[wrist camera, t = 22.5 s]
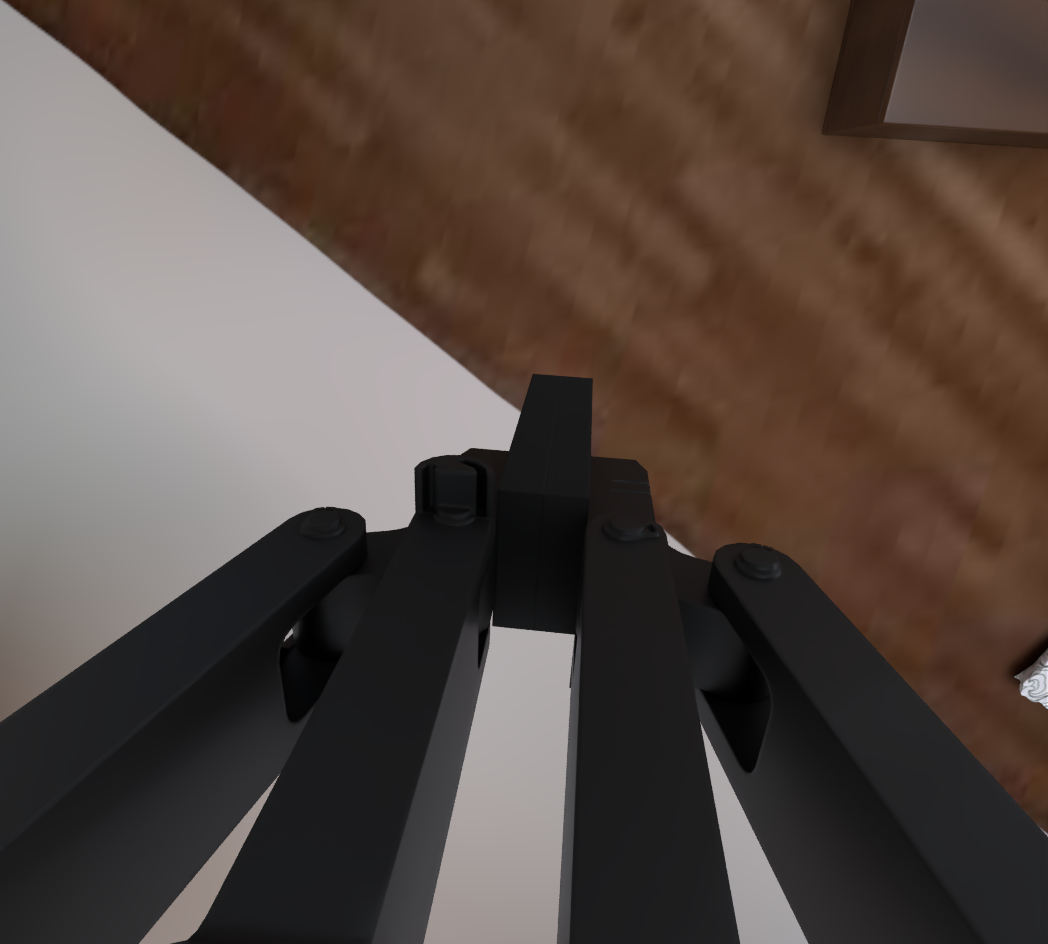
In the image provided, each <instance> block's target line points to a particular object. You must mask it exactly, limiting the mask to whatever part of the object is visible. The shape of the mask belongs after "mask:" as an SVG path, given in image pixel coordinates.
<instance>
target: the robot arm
mask: <svg viewBox="0 0 1048 944" xmlns="http://www.w3.org/2000/svg"><path fill="white" fill-rule="evenodd" d="M592 384H593V378H580V377H566V376H553V375H540V374H533V376H532V379H531V382H530V385H529V389H528V392H527V395H526V398H525V401H524V405H523V408H522V411H521V414H520V418H519V421H518V424H517V427H516V431H515V434H514V437H513V440H512V444H511V447H510V450H509V451H500V450H487V449H476V448H471V449H469V450H467V451H466V452H464V453H462V454H461V455H445V456H439V457H432V458H430V459H427V460H425V461H422V462H420V463H419V464H418V465H417V466H416V467H415V468H414V469H415V505H416V506H415V507H416V508H415V510H416V513H415V515H414V516H413V518H412V520H411V522H410V524H409V526H408V527H405V528H402V529H397V530H390V531H380V532H369V533H366V523H365V519H364V518H363V517H362V516H361V515H360V514H358V513H356V512H353V511H351V510H348V509H341V508H335V507H326V508H324V507H321V508H315V509H313V510H310V511H306V512H302V513H300V514H298V515H296V516H294V517H292V518H290V519H288V520H287V521H285V522H284V523H283V524H281V525H280V526H279V527H277V528H276V529H274V530H273V531H271V532H270V533H268V534H267V535H266V536H264V537H263V538H261V539H260V540H258V541H257V542H256V543H254V544H253V545H251V546H250V547H249V548H247V549H246V550H244V551H243V552H242V553H240V554H239V555H237V556H236V557H234V558H233V559H232V560H230V561H229V562H227V563H226V564H225V565H223V566H222V567H220V568H219V569H217V570H216V571H214V572H213V573H212V574H210V575H209V576H207V577H206V578H205V579H203V580H202V581H200V582H199V583H198V584H196V585H195V586H193V587H192V588H190V589H189V590H188V591H186V592H185V593H183V594H182V595H180V596H179V597H178V598H176V599H175V600H173V601H172V602H170V603H169V604H168V605H166V606H165V607H163V608H162V609H161V610H159V611H158V612H156V613H155V614H153V615H152V616H151V617H149V618H148V619H146V620H145V621H143V622H142V623H141V624H139V625H138V626H136V627H135V628H134V629H132V630H131V631H129V632H128V633H127V634H125V635H124V636H122V637H121V638H120V639H118V640H117V641H115V642H114V643H112V644H111V645H109V646H108V647H107V648H105V649H104V650H102V651H101V652H99V653H98V654H97V655H95V656H94V657H92V658H91V659H90V660H88V661H87V662H85V663H84V664H82V665H81V666H80V667H78V668H77V669H75V670H74V671H73V672H71V673H70V674H68V675H67V676H65V677H64V678H63V679H61V680H60V681H58V682H57V683H56V684H54V685H53V686H52V687H50V688H49V689H47V690H46V691H44V692H43V693H41V694H40V695H39V696H37V697H36V698H34V699H33V700H32V701H30V702H29V703H27V704H26V705H24V706H23V707H22V708H20V709H19V710H17V711H16V712H14V713H13V714H12V715H10V716H9V717H7V718H6V719H4V720H3V721H2V722H0V944H139V943H140V941H141V940H142V939H143V938H144V937H145V935H146V934H147V933H148V932H149V930H150V929H151V928H152V927H153V926H154V924H155V923H156V922H157V921H158V920H159V918H160V917H161V916H162V915H163V913H164V912H165V911H166V910H167V909H168V908H169V906H170V905H171V904H172V903H173V902H174V900H175V899H176V898H177V897H178V896H179V894H180V893H181V892H182V891H183V890H184V888H185V887H186V886H187V885H188V884H189V882H190V881H191V880H192V879H193V878H194V876H195V875H196V874H197V873H198V871H199V870H200V869H201V868H202V867H203V865H204V864H205V863H206V862H207V861H208V860H209V858H210V857H211V856H212V855H213V853H214V852H215V851H216V850H217V849H218V847H219V846H220V845H221V844H222V843H223V841H224V840H225V839H226V838H227V837H228V835H229V834H230V833H231V832H232V831H233V829H234V828H235V827H236V826H237V824H238V823H239V822H240V821H241V820H242V819H243V817H244V816H245V815H246V814H247V813H248V811H249V810H250V809H251V808H252V807H253V805H254V804H255V803H256V801H258V799H259V798H260V797H261V795H263V793H264V792H265V791H266V790H267V789H268V787H269V786H270V785H271V784H272V783H273V781H274V780H275V779H276V778H277V776H278V775H279V774H280V775H279V777H278V779H277V781H276V783H275V785H274V787H273V789H272V791H271V792H270V794H269V796H268V798H267V800H266V802H265V804H264V806H263V808H262V810H261V812H260V814H259V816H258V818H257V819H256V821H255V823H254V825H253V827H252V829H251V831H250V833H249V835H248V837H247V839H246V841H245V843H244V844H243V847H242V848H241V850H240V852H239V854H238V856H237V858H236V860H235V862H234V864H233V866H232V868H231V870H230V871H229V873H228V875H227V877H226V879H225V881H224V883H223V885H222V887H221V889H220V891H219V893H218V895H217V897H216V899H215V901H214V902H213V904H212V906H211V908H210V910H209V912H208V914H207V916H206V917H205V919H204V920H203V922H202V924H201V925H200V927H199V929H198V930H197V931H196V932H195V933H194V934H193V935H192V936H191V937H190V938H189V939H188V940H186V941H181V942H177V943H172V944H423V942H424V938H425V933H426V929H427V924H428V920H429V915H430V911H431V906H432V902H433V897H434V893H435V888H436V883H437V879H438V875H439V870H440V866H441V861H442V857H443V852H444V847H445V843H446V839H447V834H448V829H449V825H450V820H451V816H452V811H453V807H454V802H455V797H456V793H457V789H458V784H459V780H460V775H461V771H462V766H463V762H464V757H465V753H466V748H467V743H468V739H469V735H470V730H471V726H472V721H473V717H474V712H475V708H476V703H477V698H478V694H479V689H480V685H481V680H482V676H483V671H484V667H485V662H486V658H487V653H488V649H489V640H490V620H491V616H492V611H493V623H492V625H493V626H497V627H506V628H516V629H526V630H535V631H545V632H554V633H564V634H574V635H575V638H574V647H573V657H572V667H571V677H570V688H571V697H570V716H569V734H568V752H567V770H566V788H565V808H564V825H563V844H562V862H561V880H560V898H559V916H558V934H557V944H740V940H739V935H738V930H737V924H736V918H735V913H734V907H733V902H732V896H731V890H730V885H729V880H728V874H727V869H726V863H725V857H724V852H723V846H722V841H721V835H720V829H719V824H718V818H717V813H716V807H715V802H714V796H713V791H712V786H711V780H710V774H709V768H708V763H707V757H706V752H705V747H704V741H703V735H702V730H701V724H702V726H703V728H704V730H705V732H706V734H707V736H708V739H709V740H710V743H711V745H712V746H713V749H714V751H715V753H716V755H717V757H718V759H719V761H720V763H721V765H722V767H723V769H724V771H725V773H726V775H727V777H728V779H729V782H730V784H731V786H732V788H733V790H734V792H735V794H736V796H737V798H738V800H739V802H740V804H741V806H742V808H743V810H744V812H745V814H746V816H747V818H748V820H749V823H750V825H751V826H752V829H753V831H754V833H755V835H756V836H757V839H758V841H759V843H760V845H761V847H762V849H763V851H764V853H765V855H766V857H767V859H768V861H769V864H770V866H771V868H772V870H773V872H774V874H775V876H776V878H777V880H778V882H779V884H780V886H781V888H782V890H783V892H784V894H785V896H786V898H787V900H788V902H789V904H790V907H791V909H792V910H793V913H794V915H795V917H796V919H797V921H798V923H799V925H800V927H801V929H802V931H803V933H804V935H805V937H806V939H807V941H808V943H809V944H1048V837H1047V835H1046V834H1045V833H1044V832H1043V831H1042V830H1041V829H1040V828H1039V827H1038V826H1037V825H1036V823H1035V822H1034V821H1033V820H1032V819H1031V818H1030V817H1029V816H1028V815H1027V814H1026V812H1025V811H1024V810H1023V809H1022V808H1021V807H1020V806H1019V805H1018V804H1017V803H1016V802H1015V800H1014V799H1013V798H1012V797H1011V796H1010V795H1009V794H1008V793H1007V792H1006V791H1005V790H1004V788H1003V787H1002V786H1001V785H1000V784H999V783H998V782H997V781H996V780H995V779H994V778H993V776H992V775H991V774H990V773H989V772H988V771H987V770H986V769H985V768H984V767H983V766H982V764H981V763H980V762H979V761H978V760H977V759H976V758H975V757H974V756H973V755H972V754H971V752H970V751H969V750H968V749H967V748H966V747H965V746H964V745H963V744H962V743H961V742H960V740H959V739H958V738H957V737H956V736H955V735H954V734H953V733H952V732H951V731H950V730H949V728H948V727H947V726H946V725H945V724H944V723H943V722H942V721H941V720H940V719H939V718H938V716H937V715H936V714H935V713H934V712H933V711H932V710H931V709H930V708H929V707H928V706H927V704H926V703H925V702H924V701H923V700H922V699H921V698H920V697H919V696H918V695H917V693H916V692H915V691H914V690H913V689H912V688H911V687H910V686H909V685H908V684H907V683H906V681H905V680H904V679H903V678H902V677H901V676H900V675H899V674H898V673H897V672H896V671H895V669H894V668H893V667H892V666H891V665H890V664H889V663H888V662H887V661H886V660H885V659H884V657H883V656H882V655H881V654H880V653H879V652H878V651H877V650H876V649H875V648H874V647H873V645H872V644H871V643H870V642H869V641H868V640H867V639H866V638H865V637H864V636H863V635H862V633H861V632H860V631H859V630H858V629H857V628H856V627H855V626H854V625H853V624H852V623H851V621H850V620H849V619H848V618H847V617H846V616H845V615H844V614H843V613H842V612H841V611H840V609H839V608H838V607H837V606H836V605H835V604H834V603H833V602H832V601H831V600H830V599H829V597H828V596H827V595H826V594H825V593H824V592H823V591H822V590H821V589H820V588H819V586H818V585H817V584H816V583H815V582H814V581H813V580H812V579H811V578H810V577H809V576H808V574H807V573H806V572H805V571H804V570H803V569H802V568H801V567H800V566H799V565H798V564H797V563H796V562H795V561H793V560H792V559H791V558H790V557H788V556H787V555H785V554H783V553H781V552H779V551H776V550H774V549H773V548H771V547H768V546H761V545H760V544H755V543H751V544H747V543H736V544H729V545H725V546H723V547H721V548H720V549H718V550H716V553H715V555H714V557H713V562H709V561H706V560H702V559H698V558H695V557H692V556H689V555H686V554H683V553H680V552H678V551H677V550H675V549H673V548H671V547H670V546H669V545H668V541H667V536H666V533H665V532H664V530H663V528H662V527H661V526H660V525H659V524H657V523H656V522H655V517H654V511H653V504H652V498H651V495H650V493H651V492H650V486H649V480H648V473H647V471H646V470H645V469H644V468H643V467H642V466H641V465H640V464H639V463H638V462H637V461H636V460H628V459H616V458H605V457H593V456H591V427H592ZM291 628H292V629H293V634H292V635H291V636H290V637H289V638H288V639H286V641H284V639H285V637H286V635H287V634H288V633H289V631H290V630H291ZM700 722H701V724H700Z"/></svg>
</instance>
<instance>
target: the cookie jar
mask: <svg viewBox="0 0 1048 944" xmlns="http://www.w3.org/2000/svg"><path fill="white" fill-rule="evenodd" d="M1014 677H1015V678H1017V679H1019V680H1020V681H1021V683H1020V689H1019V690H1020V693H1021V695H1023V696H1026V697H1027V698H1028V699H1029V700H1031V701H1034V702H1040V703H1042V704H1043V705H1044V706H1045V707H1046V708H1048V649H1047V650H1046V651H1045V652H1044V653H1043V654H1042V655H1041V656H1040V657H1039V658H1038V660H1037V661H1036V662H1035V663H1034V664H1033V665H1032V666H1030V667H1029V668H1027V669H1026V670H1024V671H1023V672H1021V673H1020V674H1018V675H1016V676H1014Z"/></svg>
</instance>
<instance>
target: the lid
mask: <svg viewBox="0 0 1048 944" xmlns="http://www.w3.org/2000/svg"><path fill="white" fill-rule="evenodd" d="M878 124H879V125H895V126H912V127H928V128H944V129H961V130H977V131H993V132H1010V133H1026V134H1042V135H1048V0H909V2H908V6H907V10H906V14H905V18H904V22H903V26H902V30H901V34H900V37H899V41H898V45H897V49H896V53H895V57H894V61H893V65H892V69H891V73H890V77H889V81H888V85H887V89H886V93H885V97H884V101H883V105H882V108H881V112H880V116H879V120H878Z"/></svg>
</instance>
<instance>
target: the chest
mask: <svg viewBox="0 0 1048 944" xmlns="http://www.w3.org/2000/svg"><path fill="white" fill-rule="evenodd" d="M908 2H909V0H852V2H851V6H850V11H849V15H848V20H847V24H846V29H845V33H844V37H843V42H842V46H841V51H840V55H839V60H838V64H837V69H836V73H835V78H834V82H833V87H832V91H831V96H830V100H829V104H828V109H827V113H826V118H825V122H824V127H823V131H822V134H825V135H841V136H857V137H873V138H889V139H905V140H921V141H937V142H953V143H969V144H985V145H1001V146H1017V147H1033V148H1048V135H1042V134H1026V133H1010V132H993V131H977V130H961V129H944V128H928V127H912V126H895V125H879V124H878V120H879V116H880V112H881V108H882V105H883V101H884V97H885V93H886V89H887V85H888V81H889V77H890V73H891V69H892V65H893V61H894V57H895V53H896V49H897V45H898V41H899V37H900V34H901V30H902V26H903V22H904V18H905V14H906V10H907V6H908Z"/></svg>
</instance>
